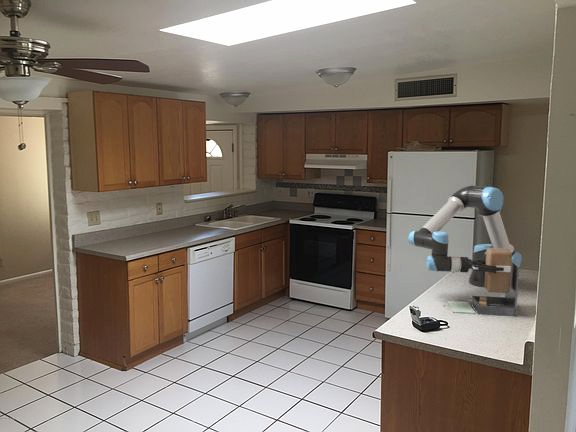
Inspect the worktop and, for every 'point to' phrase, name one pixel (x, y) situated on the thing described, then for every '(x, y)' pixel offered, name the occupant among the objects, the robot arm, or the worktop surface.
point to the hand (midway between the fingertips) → (507, 266)
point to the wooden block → (498, 279)
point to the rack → (501, 298)
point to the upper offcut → (482, 301)
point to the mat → (461, 307)
